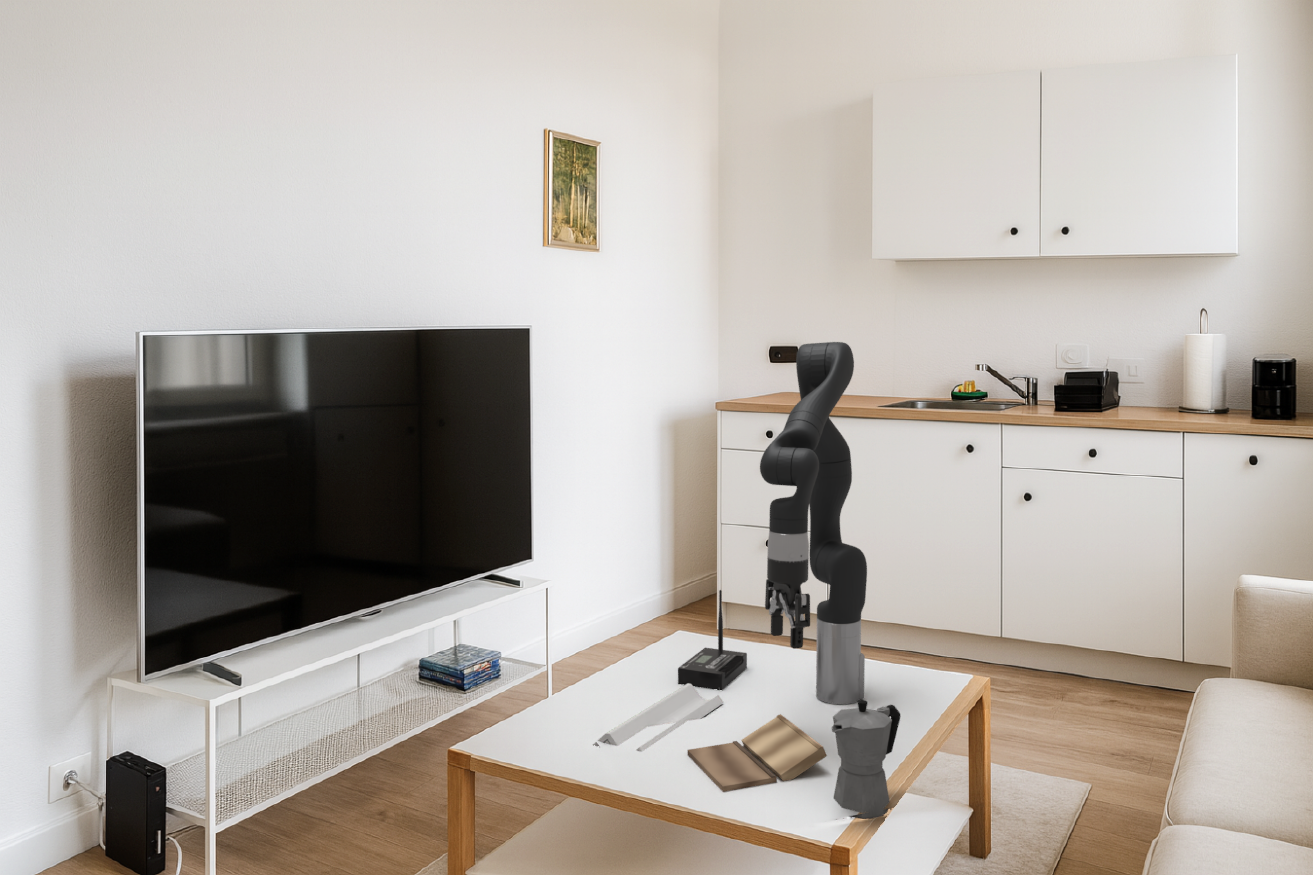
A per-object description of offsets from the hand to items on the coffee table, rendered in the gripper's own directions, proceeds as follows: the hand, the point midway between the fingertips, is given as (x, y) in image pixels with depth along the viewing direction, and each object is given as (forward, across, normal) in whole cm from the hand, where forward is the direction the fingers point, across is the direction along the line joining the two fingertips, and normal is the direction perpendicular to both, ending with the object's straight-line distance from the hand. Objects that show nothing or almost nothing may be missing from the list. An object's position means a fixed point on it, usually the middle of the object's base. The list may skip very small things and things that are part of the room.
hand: (786, 641), depth 188 cm
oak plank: (+18, -7, +3) cm, 20 cm away
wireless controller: (+20, +43, -3) cm, 48 cm away
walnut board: (+21, -7, +14) cm, 26 cm away
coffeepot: (+21, -25, -3) cm, 33 cm away
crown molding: (+21, +19, +18) cm, 34 cm away
